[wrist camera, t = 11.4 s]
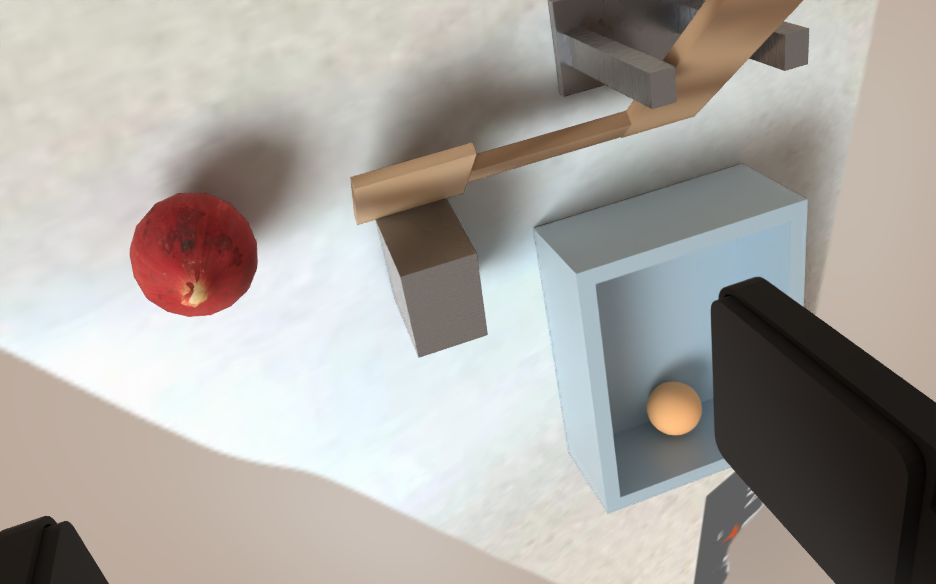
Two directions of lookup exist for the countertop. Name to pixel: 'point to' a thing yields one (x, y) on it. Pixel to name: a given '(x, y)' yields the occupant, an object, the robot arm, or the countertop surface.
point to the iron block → (433, 276)
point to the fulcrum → (641, 46)
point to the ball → (674, 408)
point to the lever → (697, 80)
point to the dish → (656, 317)
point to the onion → (193, 254)
